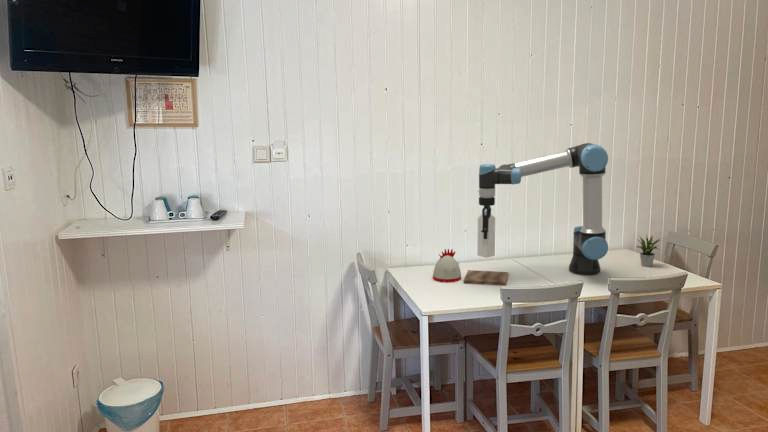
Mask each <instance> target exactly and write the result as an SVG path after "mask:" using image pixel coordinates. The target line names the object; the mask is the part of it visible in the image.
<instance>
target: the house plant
mask: <svg viewBox="0 0 768 432" xmlns="http://www.w3.org/2000/svg"><path fill="white" fill-rule="evenodd" d="M645 236H646V237H645V239H643V238H642V237H641V236H640V235H638V237H639V239H640V240H639V239H638V238H636V240H637V241H638V243H640V244H641V245H637V246H635V248H639V249H641V250H642V252H640V253H639V258H640V265H641V267H645V268H646V267H647V268H651V267H653V263H654V259H655V256H656V254H655V252H654V251H656V250H658V251H661V248H660V247H659V246H660V245H659V244H658V243H659V242H661V241H662V239H663V238H658V239H657V240H655V241H654V242H653V238H654V236H653V235H651V236H650V238H648V235H647V234H646V235H645ZM645 240H646V241H645ZM657 244H658V245H657ZM652 251H653V252H652Z"/></svg>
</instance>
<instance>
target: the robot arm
mask: <svg viewBox="0 0 768 432" xmlns="http://www.w3.org/2000/svg"><path fill="white" fill-rule="evenodd" d="M608 162H609V154H608V152H607V150H606V149H605V148H604V147H602V146H601V145H599V144H594V143H591V142H586V143H581V144H579V145H576V146H573V147H572V146H571V147H568V148H566V149H565V151H560V152H556V153H553V154H547V155H543V156H539V157H535V158H530V159H525V160H522V161H517V162H514V163H513V162H512V163H508V164H504V163H503V164H502V165H500V166H498V168H496V165H495V164H493V163H483V164H480V166H479V167H478V168H479V169H478V189H477V192H478V196H479V197H478V205H480V206H483V208H482V210H481V214H482V213H483V216H482V217H483V229H482V231H481V232H483V245H488V238H489V232H488V224H489V218H490V212H491V213H492V207H491V206H495V204H496V197H495V196H496V185H518V184H519V185H520V183H521V181H522V178H523V177H528V176H532V175H536V174H541V173H545V172H549V171H553V170H558V169H563V168H567V167H568V168H571V169H572V168H579V169H578V173H579V175H580V176H581V177H582V219H583V220H582V225H581V226H580V225H579V226H575V227H573V228H574V229H573V231H572V232H573V233H572V234H573V242H572V243H573V246H572V247H573V248H572V249H573V250H572V258H571V259H570V262H569V265H568V271H569V272H570V273H571V274H575V275H581V276H593V275H595V276H596V275H599V274H600V273H601V264H600V262H599V260H601V259H603V258H604V257H605V256H606V255H607V253H608V250H609V244H608V241H607V240H606V235H607V232H606V229H605V228H604V227H603V176H605V174H606V171H607V170H606V167H607V165H608Z"/></svg>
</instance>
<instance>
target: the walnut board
mask: <svg viewBox="0 0 768 432" xmlns="http://www.w3.org/2000/svg"><path fill="white" fill-rule="evenodd" d="M508 278H509V271H492V270H475V269H474V270H471V269H469V270H467V272H466V274H465V276H464V279H463V282H462V283H463V284H468V285H469V284H470V285H471V284H472V285H488V286H489V285H491V286H507V283H506V282H508Z"/></svg>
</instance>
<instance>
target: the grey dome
mask: <svg viewBox="0 0 768 432" xmlns="http://www.w3.org/2000/svg"><path fill="white" fill-rule="evenodd" d="M438 255H439V257H440V258H439V259H438V260H437V261H436V263H435V265H434V268H433V269H434V270H433V271H432V272H433V273H432V279H433V281H436V282H438V283H457V282H459V281H461V280H462V272H461V269H460V263H458V261H457V260H456V259H455V258H454V256H455V255H456V250H455V251H453V248H451V249H449V248H447V249H446V248H444V252H443V251H441V254H440V253H438Z"/></svg>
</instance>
